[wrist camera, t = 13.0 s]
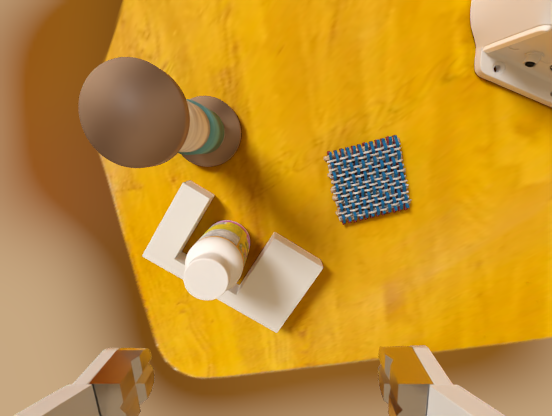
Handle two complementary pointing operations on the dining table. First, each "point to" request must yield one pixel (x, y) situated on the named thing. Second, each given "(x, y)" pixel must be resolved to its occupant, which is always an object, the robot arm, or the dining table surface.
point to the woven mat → (368, 179)
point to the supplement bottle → (216, 260)
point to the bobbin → (153, 117)
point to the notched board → (262, 275)
